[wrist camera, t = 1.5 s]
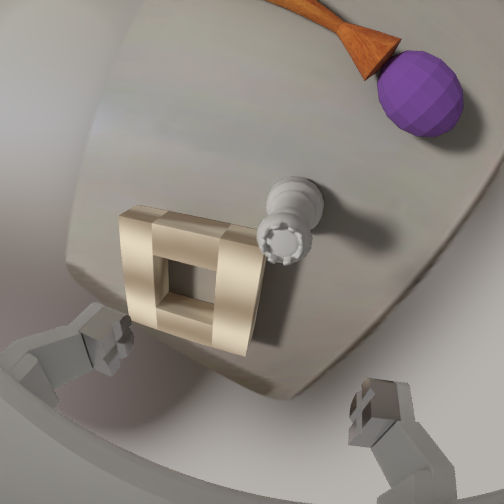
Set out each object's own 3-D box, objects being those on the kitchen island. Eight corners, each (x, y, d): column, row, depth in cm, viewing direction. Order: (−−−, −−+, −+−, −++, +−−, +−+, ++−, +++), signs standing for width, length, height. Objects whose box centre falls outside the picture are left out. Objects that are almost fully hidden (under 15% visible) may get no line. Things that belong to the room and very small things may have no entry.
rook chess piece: (336, 201, 23) (339, 245, 16) (298, 239, 25) (285, 294, 18) (292, 163, 22) (276, 189, 15) (256, 204, 24) (226, 246, 17)
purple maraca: (242, -74, 11) (492, 92, 11) (256, -34, 16) (453, 106, 17) (185, -28, 12) (447, 153, 13) (211, 8, 18) (413, 156, 19)
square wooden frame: (136, 204, 27) (118, 215, 24) (271, 232, 25) (264, 248, 22) (143, 304, 33) (129, 319, 30) (252, 336, 31) (245, 356, 28)
